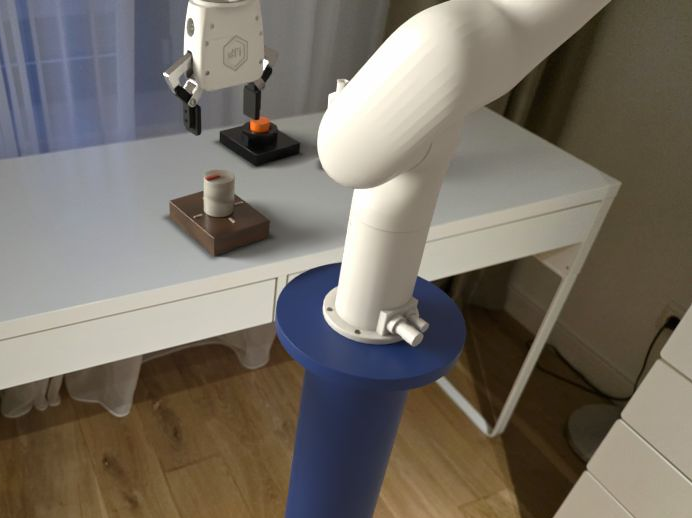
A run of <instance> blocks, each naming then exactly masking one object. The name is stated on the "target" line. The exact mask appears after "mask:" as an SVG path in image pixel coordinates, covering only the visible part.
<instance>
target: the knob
mask: <svg viewBox="0 0 692 518" xmlns="http://www.w3.org/2000/svg"><path fill="white" fill-rule="evenodd" d="M235 184H236V177H235V174H234V173H233V172H231V171H229V170H226V169H212V170H208V171H206V172H205V173H204V174H203V191H204V212H205V213H206V214H207V215H210V216H213V217H226V216H229V215H231V214H232V213H233V211H234V194H235V188H236V187H235Z"/></svg>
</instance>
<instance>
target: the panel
mask: <svg viewBox="0 0 692 518" xmlns="http://www.w3.org/2000/svg"><path fill="white" fill-rule="evenodd" d="M168 202H169V203H168V204H169V205H168V206H169V207H168V208H169V218H170V219H171V220H172V221H173V222H174V223H176V225H178V226H179V227H180V228H181V229H182V230H183V231H185V233H187V234H188V235H189V236H190V237H191V238H192V239H194V240H195V241H196V242H197V243H198V244H199V245H201V246H202V247H203V248H204V249H205V250H206V251H207V252H209V253H210V254H211V255H212V256H213V257H216V256H218V255H222V254H224V253H228V252H231V251H233V250H236V249H239V248H242V247H245V246H247V245H250V244H253V243H256V242H259V241H263V240H265V239H268V238H269V237H270V230H271V229H270V228H271V219H270V218H268V217H267V216H266V215H265V214H263V213H262V212H260V211H259V210H257V209H256V208H255V207H254V206H252V205H251V204H250V203H248V202H247V201H245V199H243V198H241V197H240V196H239V195H238V194H236V193H234V211H233V213H232V214H231V215H229V216H226V217H213V216H210V215H207V214H206V213H205V212H204V190H201V191H198V192H194V193H191V194H187V195H184V196H180V197H177V198H173V199H171V200H169V201H168Z"/></svg>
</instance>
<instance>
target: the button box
mask: <svg viewBox="0 0 692 518" xmlns="http://www.w3.org/2000/svg"><path fill="white" fill-rule="evenodd" d="M250 122H251V120H250V121H247V122H245V123H244V124H242V125H239V126H235V127H230V128H227V129H223V130H220V131H219V140H218V141H219V142H218V143H220V144H221V145H222V146H225V147H226V148H227V149H229V150H231V151H232V152H234V153H235V154H236V155H238V156H239V157H241V158H243V159H244V160H245V161H246V162H248V163H250V164H251V165H253V166H254V167H258V166H262V165H265V164H269V163H273V162H276V161H279V160H283V159H287V158H290V157H293V156H297V155H300V151H301V142H300V141H298V140H296V139H295V138H293V137H291V136H290V135H289V134H286V133H284V132H283V131H282V130H280V129H279V128H278V125H277V124H275V123H273V122H272V121H270V130H269V131H267V132H255V131H252V130H250Z"/></svg>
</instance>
